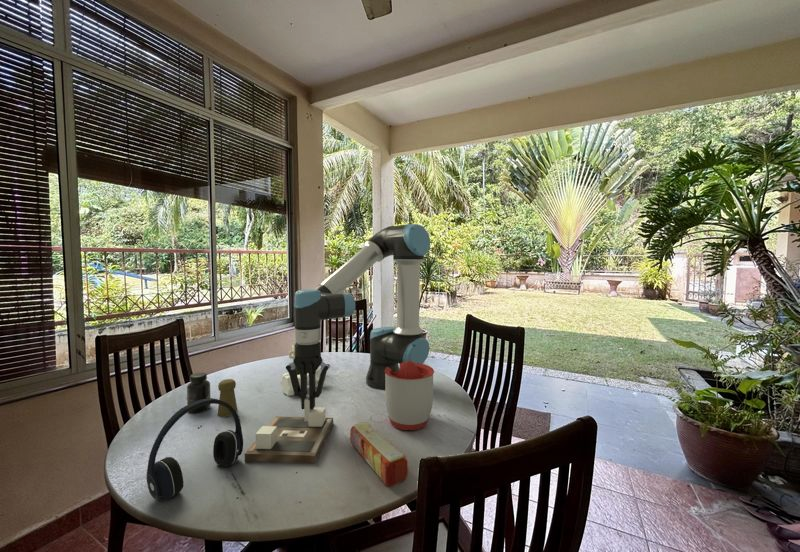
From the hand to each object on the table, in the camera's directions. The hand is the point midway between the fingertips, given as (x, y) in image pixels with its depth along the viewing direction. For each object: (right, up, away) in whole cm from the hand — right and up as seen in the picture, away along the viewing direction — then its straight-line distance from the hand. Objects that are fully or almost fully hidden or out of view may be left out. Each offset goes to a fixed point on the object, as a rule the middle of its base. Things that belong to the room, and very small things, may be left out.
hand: (308, 419), depth 101 cm
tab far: (+3, -1, 0) cm, 3 cm away
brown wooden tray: (-3, -4, -6) cm, 7 cm away
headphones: (-20, -5, -22) cm, 30 cm away
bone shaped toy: (-11, -2, +31) cm, 33 cm away
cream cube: (-8, -2, -12) cm, 14 cm away
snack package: (+21, -5, -15) cm, 27 cm away
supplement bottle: (-41, -3, +13) cm, 43 cm away
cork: (-30, -3, +11) cm, 32 cm away
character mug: (-17, -1, +49) cm, 51 cm away
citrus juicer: (+30, -4, +6) cm, 31 cm away
